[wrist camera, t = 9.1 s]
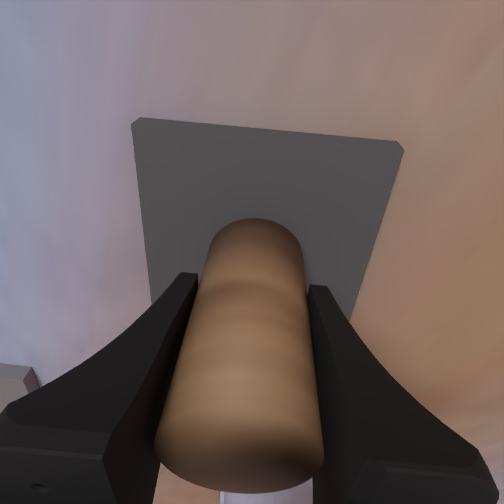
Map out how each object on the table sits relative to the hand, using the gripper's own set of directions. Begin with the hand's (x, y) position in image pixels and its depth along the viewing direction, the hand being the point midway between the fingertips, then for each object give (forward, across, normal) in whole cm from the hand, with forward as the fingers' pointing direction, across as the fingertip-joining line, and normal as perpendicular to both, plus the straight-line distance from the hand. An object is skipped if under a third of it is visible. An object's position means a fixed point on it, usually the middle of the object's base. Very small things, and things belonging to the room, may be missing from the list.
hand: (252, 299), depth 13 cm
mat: (+4, 0, 0) cm, 4 cm away
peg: (+2, 0, 0) cm, 2 cm away
